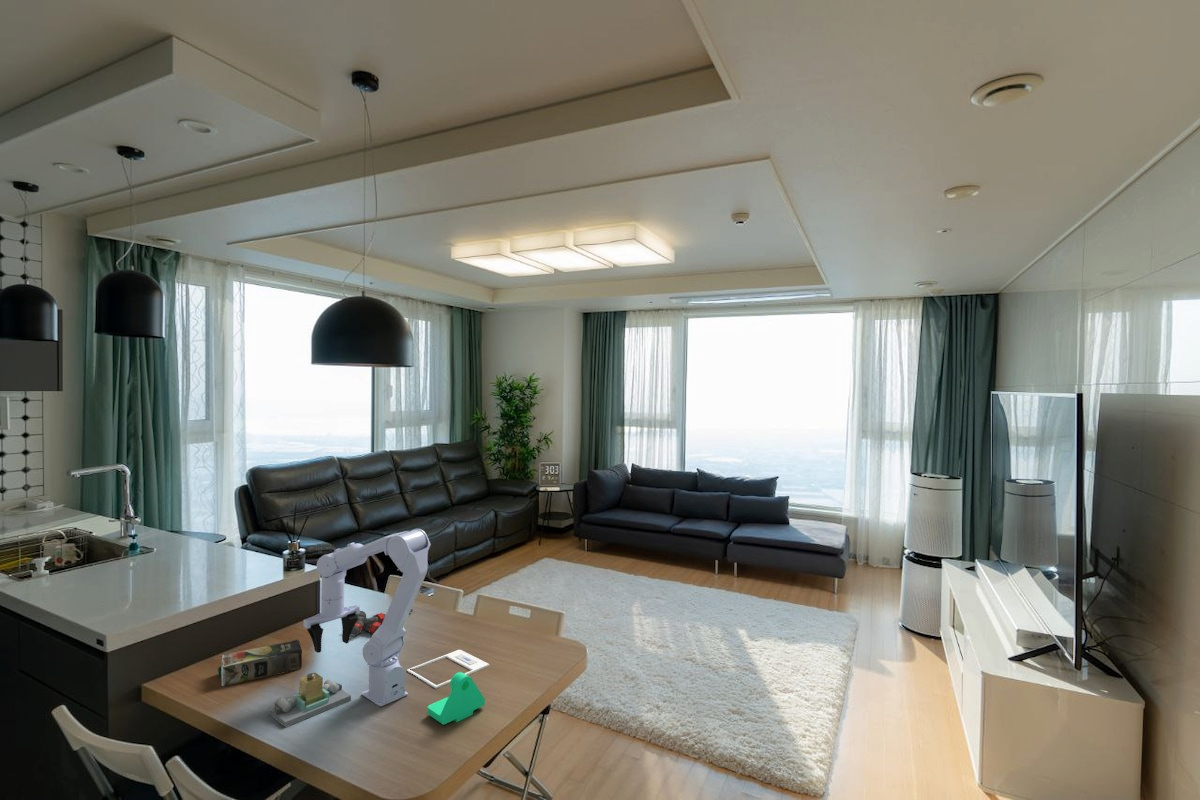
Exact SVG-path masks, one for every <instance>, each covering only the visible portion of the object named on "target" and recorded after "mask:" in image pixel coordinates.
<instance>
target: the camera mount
mask: <svg viewBox="0 0 1200 800" xmlns="http://www.w3.org/2000/svg"><path fill="white" fill-rule="evenodd" d="M449 687H450V690H451V691H450V693H449V696H446V697H445V698H441V699H439V700H437V701H435V702H432V703H431V704H429V705H428V706H427V714H428V715H429V716H430V717H431V718H433V719H435V720H436V721H437V722H439V723H440V724H442V726H443V725H446V724H449V723H450V722H455V723H458V722H460V721H463V720H464V719H466V718H469V717H470V716H473V715H474V711H476V710H477V709H480V708H482V707H485V705H486V703H485V702H486V699H485V697H484V695H483V694H482V692H481V690H480V689H479V688H478V685H477V684H476V683H475V681H474V679H473V678H472V677H471V676H469V675H466V674H464V673H463V672H462V671H459V672H456V673H455V674H454V675H453V676H452V677H451V682H450V683H449Z"/></svg>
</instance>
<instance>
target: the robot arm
mask: <svg viewBox="0 0 1200 800" xmlns="http://www.w3.org/2000/svg"><path fill="white" fill-rule="evenodd" d="M431 545H432V544H431V541H430V539H429V537H428V535H427V533H426V532H425V531H424V530H423V529H421V528H414V529H412V530H405V531H401V532H398V533H397V532H396V533H393V534H390V535H386V536H383V537H380V538H378V539H376V540H374V541H372V542H369V543H367V544H365V545H364V544H362V543H359V542H358V543H356V542H351V543H348V544H346V546H345V547H343V548H336V549H334V551H333V552H331V553H328V554H327V553H326V554H323V555H322V556H320V557H319V558H318V559H317V561H316V570H317V572H318V574H319V575H320V576H321V579H320V580H321V585H320V586H321V589H320V594H321V596H320V597H321V598H320V613H317V614H316V615H313V616H311V617H308V618H305V619H303V628H305V629H306V630H307V632H308V634H309V635H310V638H311V640H312V644H313V648H314V652H316V653H317V654H319V653H321V652H322V640H323V639H322V637H323V632H324V628H322V627H321V624H325V623H328V622H332V621H335V620H336V621H337V620H339V619H341V626H342V628H341V629H342V634H341V636H342V637H341V639H342V642H343V643H345V644H346V645H347V644H349V642H350V638H351V635H352V634H351V632H352V629H353V627H354V625H355V623H356V622H357V620H358V616H356V614H359V613H360V611H361V609H360V608H361V607H360V606H359V605H357V604H356V605H352V606H345V578H346V576H347V571H348V570H350V569H352V568H355V567H357V566H360V565H363V564H364V563H366V562H367V560H368V557H371V556H374V555H377V554H379V553H382V552H384V555H385V556H389V558H390V559H391V560H392V562H393V563H394V564H395V566H396V567H397V569H398V570H399V571H400V572H401V573H402V576H401V578H400V581H399V583H398V586H397V588H396V590H395V593H394V595H393V598H392V599H391V601H390V605H388V609H387V612H386V613H385V615H386V616H385V618H384V620H383V623H382V625H381V626H380V627H379V628H378V629H377V630H376V632H375V633H374V634H373V635H371V638H370V639H369V640H368V641H367V642H366V643H365V644H364V645H363V647H362V656H363V659H364V661H365V663H366V664H367V666H368V689H367V690H365V691H362V693H361V695H362V696H363V697H365V698H366V699H368V700H369V701H371V702H373V703H374V704H375V705H377V706H378V707H383V706H385V705H387V704H390V703H392V702H394V701H397V700H399V699H402V698H404V697H405V696H408V694H409V693H408V692H407V690H406V671H405V668H404V667H402V666H401V665H400V661H399V656H400V655H401V653H400V652H401V651H402V650H403V648H404V647H405V639H406V638H405V636H406V634H407V630H406V628H405V624H406V622H407V619H408V617H409V615H410V613H411V612H410V610H411V609H413V606H414V603H415V601H416V598H417V597H418V594H419V592H420V589H421V588H422V585H423V582H424V580H425V578H426V575H427V573H428V560H429V559H428V555H429V554H428V552H429V550H430V547H431Z"/></svg>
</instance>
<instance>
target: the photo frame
mask: <svg viewBox="0 0 1200 800" xmlns="http://www.w3.org/2000/svg"><path fill="white" fill-rule="evenodd" d="M446 658H447V659H448V660H451V661H452V662H454V663H456V664H458V665H460V666H461V667H464V668H466V669H468V670H469V671H467V672H465V673H464V674H466V675H467V676H469V675H471V674H473V673H476V672H478V671H480V670H484V669H485V668H488V667H490V664H489V663H488V662H486V661H484V660H482V659H480V658H478V657H476V656H474V655H472V654H470V653H468V652H466V651H464V650H462V649H457V650H455V651H452V652H449V653H447V654H444V655H442V656H438V657H436V658H433V659H430V660H429V661H426V662H423V663H420V664H419V665H415V666H412V667H411V668H408V669H406V672H407V671H408V672H407V673H409V674H410V673H411V674H410V675H412V674H413V675H412V676H414V675H415V676H416V678H417V677H418V678H417V679H419V680H420V679H421V681H422V682H424V683H425V682H426V684H427V685H429V686H430V687H432V688H434V689H439V688H441V687H444V686H445V685H448V684H450V682H451V679H452V678H451V679H448V680H446V681H444V682H441V683H439V684H435V683H434V682H432V681H430V680H429V679H427V678H425V677H424V676H422V675H420V674H419V673H417V672H415V671H414V669H415V670H417V669H419V667H420V668H422V667H424V666H427V665H430V664H432V662H433V663H436V662H437V661H440V660H443V659H446ZM416 668H417V669H416ZM410 669H411V670H410ZM415 676H414V677H415Z"/></svg>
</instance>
